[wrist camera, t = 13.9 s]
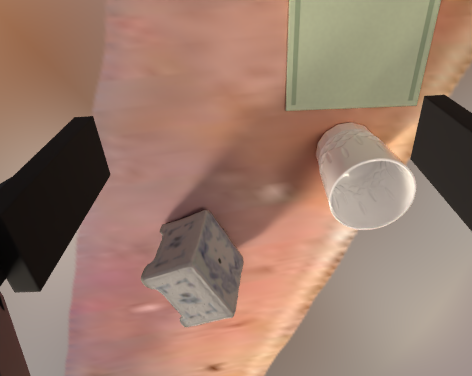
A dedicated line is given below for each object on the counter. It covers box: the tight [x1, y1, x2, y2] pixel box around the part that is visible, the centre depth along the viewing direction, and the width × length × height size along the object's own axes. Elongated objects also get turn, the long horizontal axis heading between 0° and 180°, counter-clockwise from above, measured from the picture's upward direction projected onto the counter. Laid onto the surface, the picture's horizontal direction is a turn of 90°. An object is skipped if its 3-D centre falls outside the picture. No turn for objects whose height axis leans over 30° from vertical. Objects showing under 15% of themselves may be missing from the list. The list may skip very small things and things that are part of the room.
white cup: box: [316, 122, 416, 230], centre depth 37 cm, size 8×8×10 cm
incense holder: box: [141, 210, 244, 327], centre depth 44 cm, size 10×8×10 cm
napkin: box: [286, 0, 441, 111], centre depth 34 cm, size 18×14×1 cm
